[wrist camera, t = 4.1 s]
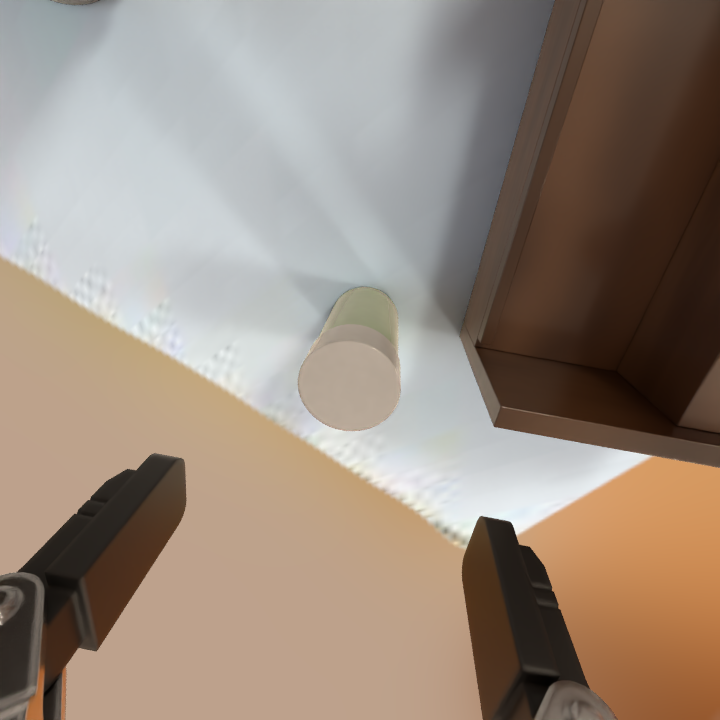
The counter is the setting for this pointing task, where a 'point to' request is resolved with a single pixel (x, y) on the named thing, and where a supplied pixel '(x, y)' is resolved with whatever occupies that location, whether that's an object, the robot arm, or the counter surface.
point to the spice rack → (610, 237)
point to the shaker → (354, 363)
